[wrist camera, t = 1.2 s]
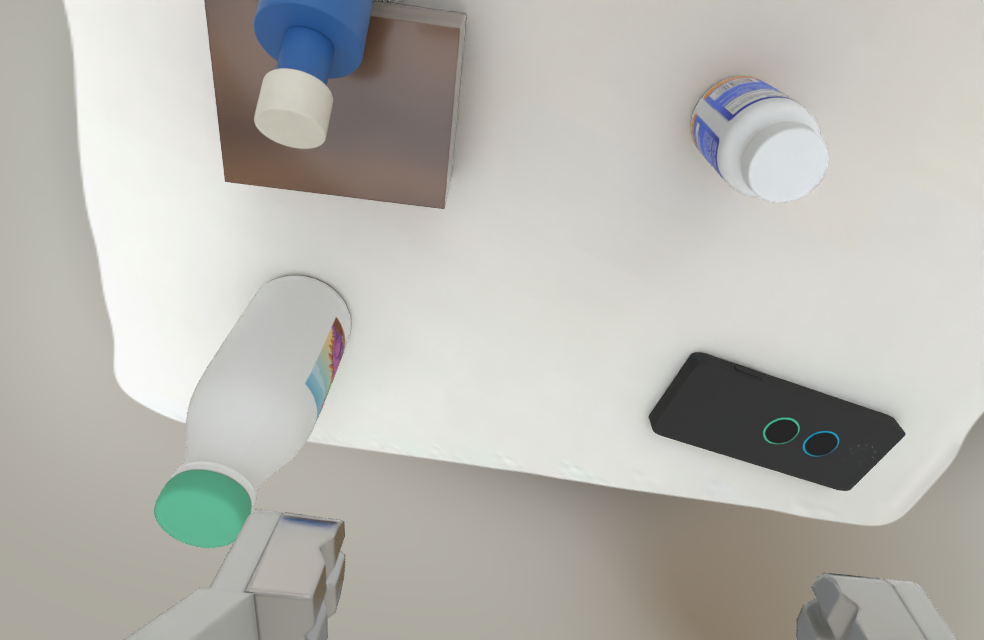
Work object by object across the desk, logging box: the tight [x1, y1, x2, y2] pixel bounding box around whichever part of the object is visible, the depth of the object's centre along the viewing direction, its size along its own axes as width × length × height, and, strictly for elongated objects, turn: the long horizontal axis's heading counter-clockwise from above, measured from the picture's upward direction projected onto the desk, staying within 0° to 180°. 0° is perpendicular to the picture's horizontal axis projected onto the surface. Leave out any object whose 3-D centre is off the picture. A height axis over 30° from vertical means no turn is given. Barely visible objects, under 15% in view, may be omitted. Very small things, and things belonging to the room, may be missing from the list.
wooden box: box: [205, 0, 467, 209], centre depth 37 cm, size 10×13×6 cm
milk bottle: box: [154, 275, 351, 548], centre depth 40 cm, size 8×8×20 cm
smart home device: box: [649, 353, 905, 491], centre depth 53 cm, size 8×2×20 cm
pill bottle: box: [691, 76, 829, 203], centre depth 36 cm, size 5×5×10 cm
